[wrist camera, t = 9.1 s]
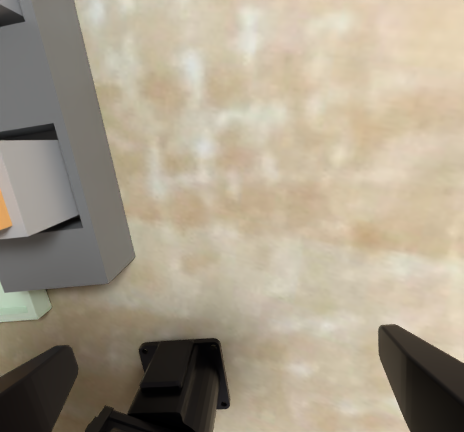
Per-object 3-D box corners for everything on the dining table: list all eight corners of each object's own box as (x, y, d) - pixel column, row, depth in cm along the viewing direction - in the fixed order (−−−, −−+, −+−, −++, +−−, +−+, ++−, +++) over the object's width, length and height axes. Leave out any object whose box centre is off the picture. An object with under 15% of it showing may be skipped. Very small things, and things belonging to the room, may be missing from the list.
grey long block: (135, 257, 21) (106, 285, 17) (48, 265, 22) (1, 294, 18) (46, -115, 16) (-28, -204, 11) (-66, -85, 16) (-171, -159, 12)
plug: (79, 139, 18) (-25, 140, 11) (96, 207, 19) (10, 243, 12) (17, 148, 19) (-120, 154, 12) (37, 213, 20) (-77, 252, 13)
